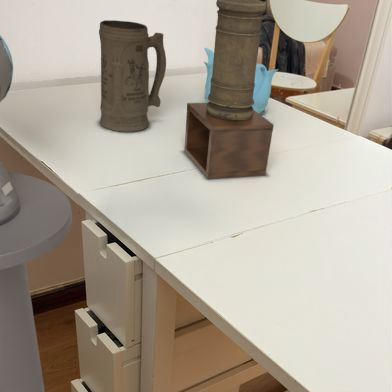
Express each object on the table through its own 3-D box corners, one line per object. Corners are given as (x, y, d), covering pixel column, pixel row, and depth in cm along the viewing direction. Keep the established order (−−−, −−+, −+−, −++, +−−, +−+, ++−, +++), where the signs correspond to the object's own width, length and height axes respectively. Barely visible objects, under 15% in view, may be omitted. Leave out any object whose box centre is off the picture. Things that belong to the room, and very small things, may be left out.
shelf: (207, 179, 99) (212, 126, 93) (184, 151, 109) (187, 103, 103) (265, 175, 103) (273, 124, 97) (237, 149, 113) (243, 101, 107)
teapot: (199, 117, 128) (203, 60, 120) (200, 96, 142) (204, 44, 134) (270, 123, 128) (279, 67, 120) (264, 101, 142) (272, 50, 134)
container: (253, 123, 96) (270, 6, 85) (204, 118, 96) (214, 1, 85) (252, 109, 103) (267, -1, 92) (206, 104, 103) (216, -6, 92)
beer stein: (116, 135, 113) (120, 27, 101) (87, 121, 119) (88, 17, 107) (170, 129, 122) (180, 29, 110) (142, 116, 128) (148, 20, 116)
